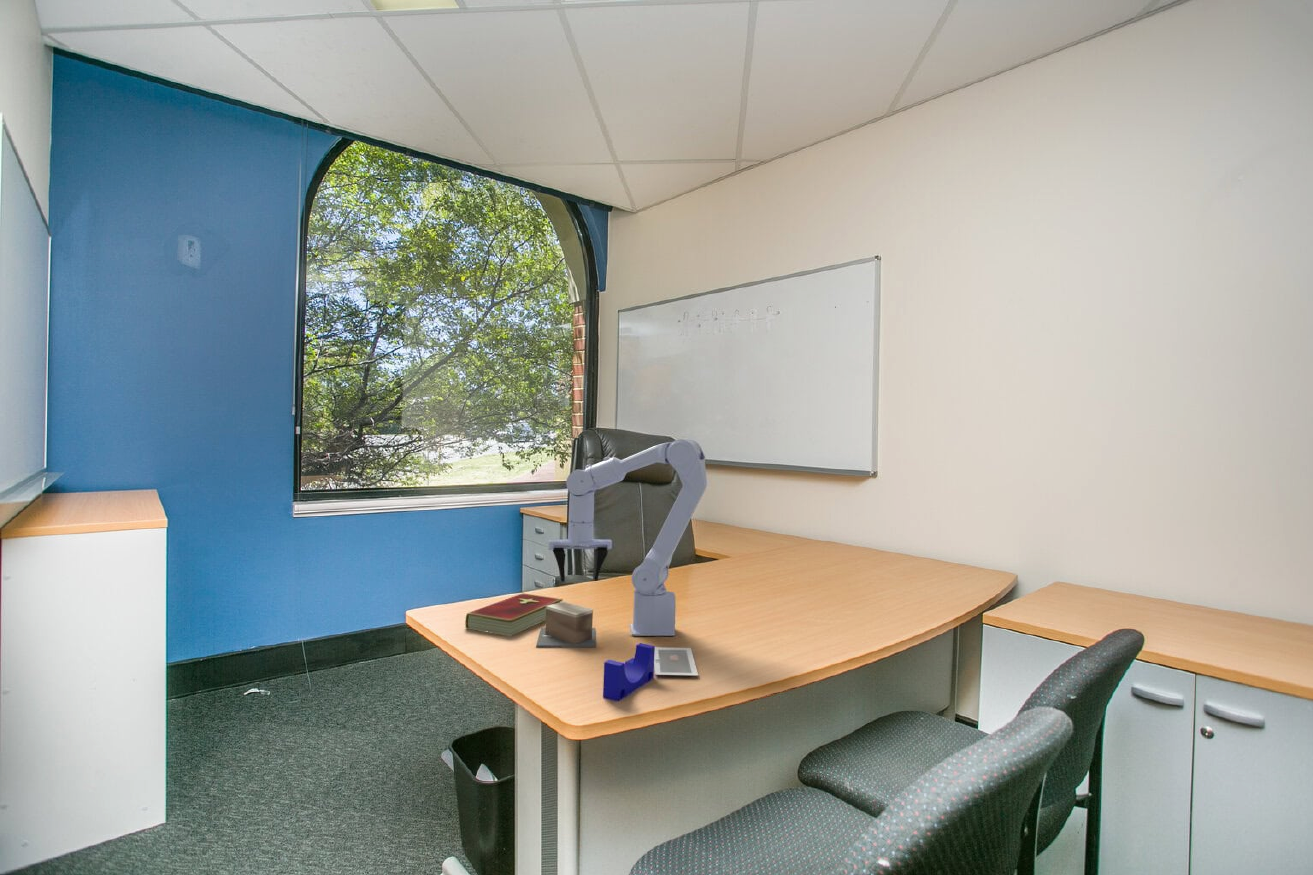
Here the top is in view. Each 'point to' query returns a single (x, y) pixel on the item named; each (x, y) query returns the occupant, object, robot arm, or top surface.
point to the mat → (562, 641)
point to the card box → (569, 622)
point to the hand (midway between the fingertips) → (579, 580)
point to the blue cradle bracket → (628, 673)
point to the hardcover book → (510, 614)
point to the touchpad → (674, 661)
